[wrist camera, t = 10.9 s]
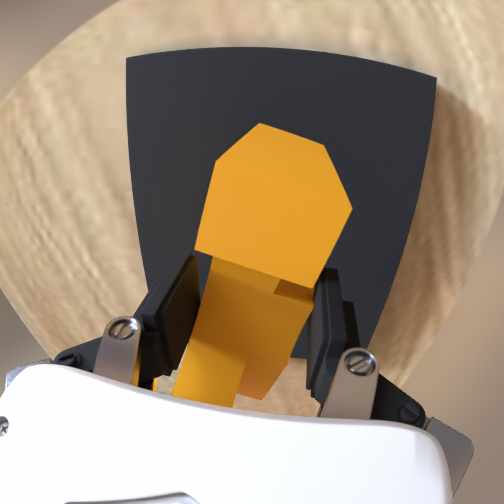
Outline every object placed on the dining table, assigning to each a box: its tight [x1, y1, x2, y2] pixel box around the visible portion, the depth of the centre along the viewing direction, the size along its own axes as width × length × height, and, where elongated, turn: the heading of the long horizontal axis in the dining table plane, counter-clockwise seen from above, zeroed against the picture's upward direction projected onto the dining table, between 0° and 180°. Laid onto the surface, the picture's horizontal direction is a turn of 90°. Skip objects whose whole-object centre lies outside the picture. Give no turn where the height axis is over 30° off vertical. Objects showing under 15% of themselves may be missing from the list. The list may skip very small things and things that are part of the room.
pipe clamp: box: [171, 123, 352, 408], centre depth 11 cm, size 12×4×6 cm, turn 163°
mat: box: [126, 47, 437, 359], centre depth 17 cm, size 20×16×1 cm
